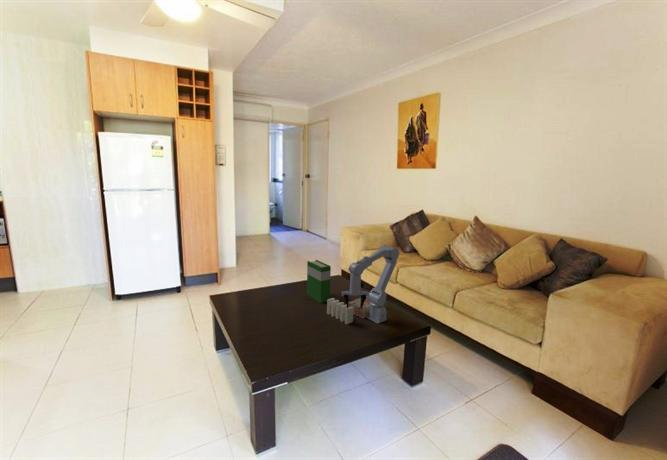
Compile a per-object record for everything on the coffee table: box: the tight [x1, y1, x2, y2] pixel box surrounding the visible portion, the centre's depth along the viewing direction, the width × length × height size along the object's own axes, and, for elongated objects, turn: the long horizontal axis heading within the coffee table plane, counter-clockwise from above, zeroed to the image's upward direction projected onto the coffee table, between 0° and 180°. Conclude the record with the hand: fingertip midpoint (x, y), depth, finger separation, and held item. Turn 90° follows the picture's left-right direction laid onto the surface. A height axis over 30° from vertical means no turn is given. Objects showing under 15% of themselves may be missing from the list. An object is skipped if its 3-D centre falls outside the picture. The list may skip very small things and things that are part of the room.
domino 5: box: [344, 306, 354, 325], centre depth 180 cm, size 2×5×9 cm, turn 131°
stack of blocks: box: [348, 296, 370, 319], centre depth 198 cm, size 21×6×12 cm
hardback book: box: [306, 259, 332, 304], centre depth 214 cm, size 18×7×24 cm, turn 35°
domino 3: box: [335, 301, 345, 320], centre depth 186 cm, size 2×5×9 cm, turn 131°
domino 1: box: [326, 297, 336, 315], centre depth 192 cm, size 2×5×9 cm, turn 131°
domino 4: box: [339, 303, 349, 323], centre depth 183 cm, size 2×5×9 cm, turn 131°
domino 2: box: [330, 299, 340, 318], centre depth 189 cm, size 2×5×9 cm, turn 131°
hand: (354, 307), depth 176 cm, fingers open, 7 cm apart
